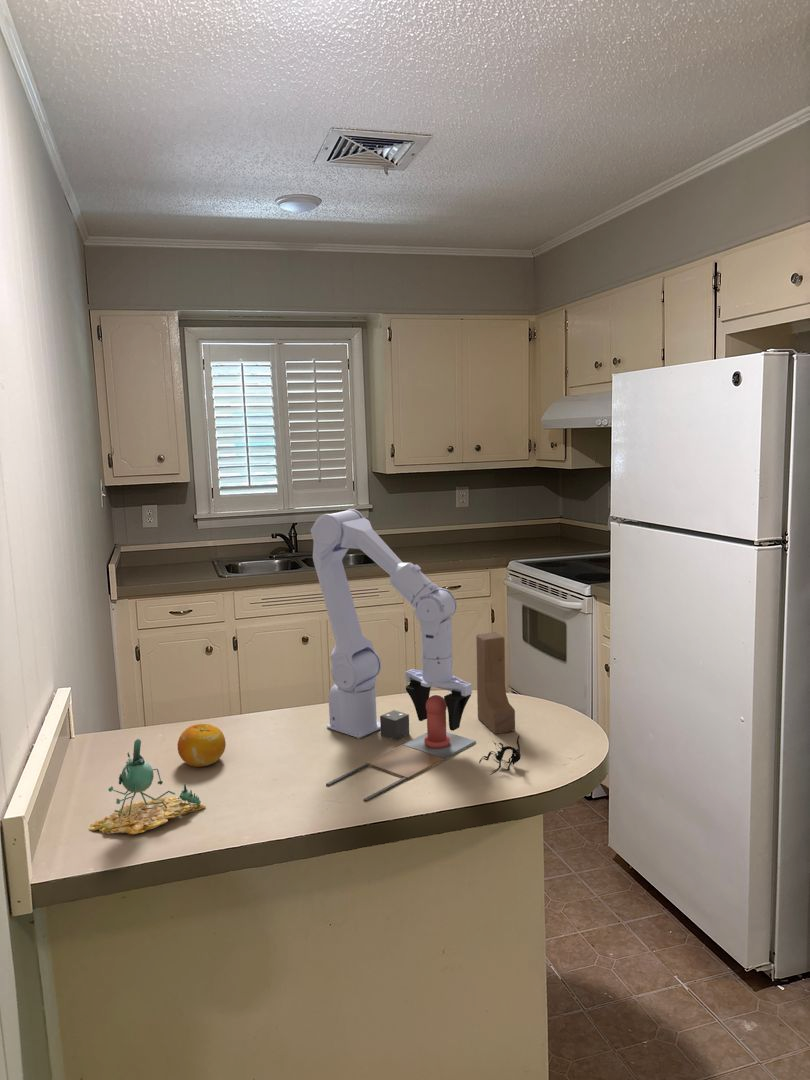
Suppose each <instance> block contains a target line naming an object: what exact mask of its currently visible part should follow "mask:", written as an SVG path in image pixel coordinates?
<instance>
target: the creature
mask: <svg viewBox="0 0 810 1080" xmlns="http://www.w3.org/2000/svg"><path fill="white" fill-rule="evenodd" d="M520 737H521V735H518V736H517V738H516V741H515V742H516V744H517V745H516V746H517V749H516V748H515V747H514V746H510V745H506V746H504V744H503V743H502V742H498V744H499V745H500V746H501V747H500V746H499V745H498V744H497V743H496V742H494V741H493V744H494V745H495V749H496V751H497V753H496V752H495V751H493V750H491V751H489V752H488V754H487V756H486V755H483V756H482V757H481V758H480V759H479V762H478V764H481V762H482V760H485V761H487V762H488V761H489V760H490V756H492V755H493V757H495V759H496V760H495V759H493V758H492V760H493V761H494V762H496V763H497V764H499V765H498V767H497V768H496V769H494V770H492V771H491V775H493V774H495V773H497V772H498V771H500V770H501V767H502V761H503V762H506V763H508V766H507V769H502V771H504V770H505V771H507V772H508V771H510V767H511V765H512V766H514V765H515V764H516V763H517V762H519V761H520V760H521V759H522V758H521V746H520V741H519V740H520ZM497 747H498V748H499V749H500V750H498V749H497ZM507 750H511V751H512V753H511V755H510V757H509V758H508V761H507V760H503V758H504V754H505V752H506V751H507Z"/></svg>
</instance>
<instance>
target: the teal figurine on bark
mask: <svg viewBox="0 0 810 1080" xmlns="http://www.w3.org/2000/svg"><path fill="white" fill-rule="evenodd" d="M141 744H142V741H141V740H140V739H139V738H136V739H135V741H134V743H133V754H132V758H131V755H130V752H127V757H128V759H127V761H126V762H125V764H126V765H125V766H124V767H123V769H122V770H121V773H120V774H119V775H118V776H119V777H118V783H117V784H118V785H122V786H123V787H124V788H125V789H126V792H122V791H120V790H117V789H114V786H112V785H111V786H110V787H108V788H107V789H108V791H109V793H110V792H117V793H119V794H121V795H124V798H122V799H120V798H116V801H115V803H116V804H117V805H120V804H121V802H122V805H121V808H120V809H117V810H116V809H115V810H114V812H113V813H112V814H111V813H110V815H109V816H104V818H102V819H101V820H100V819H99V820H96V821H95V822H93V823H92V824H90V827H89V828H88V830H89V831H91V832H92V831H100V832H102V833H103V834H104V833H106V834H108V835H112V834H116V833H117V834H118V833H123V834H124V833H126V834H129V835H136V834H139V833H140V834H141V833H142V834H143V833H144V832H146V831H149V830H153V829H155V828H158V827H159V826H160V825H164V824H166V823H168V820H169V819H175V818H176V817H178V816H185V815H187V814H188V813H196V812H197V811H200V810H202V809H204V808H206V807H207V806H206V805H205V804H202V803H201V802H202V801H201V800H200V797H199V796H198V794H197V795H196V793H195V792H194V793H193V791H192V790H191V789H190V790H188V789H187V784H186V783H184V784H183V789H181V793H180V794H179V796H175V795H176V793H175V792H173V791H170V790H167V791H166V792H164V793H163V794H161V795H159V796H158V797H155V798H154V797H152V796H150V795H149V794H146V793H144V792H145V791H146V790H147V789H149V788H150V787H151V786H152V784H153V780H154V771H156V772H157V776H158V779H159V780H158V781H157V785H163V780H162V778H161V775H160V771H159V769H158V768H156V767H155V768H153V767H152V765H151V764H150V763H149V762H148V761H146V760H145V759H144V757H143V756H142V755H141V746H142V745H141ZM128 792H129V793H128ZM137 793H140V795H141V797H142V799H143V800H142V801H141V800H140V801H135V802H133V800H134V798H135V797H136V795H137ZM131 794H133V795H132V796H129V795H131ZM166 794H172V795H174V797H164V796H165V795H166ZM128 796H129V797H128ZM145 797H147V798H149V799H148V800H146V798H145ZM129 799H130V803H127V804H126V805H125V802H126V800H129ZM176 799H177V800H176Z"/></svg>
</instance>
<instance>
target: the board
mask: <svg viewBox="0 0 810 1080" xmlns="http://www.w3.org/2000/svg"><path fill="white" fill-rule="evenodd" d="M446 735H447V736H449V738H450V745H449V746H448V747H446V748H442V749H432V748H428V747H426V746H425V742H424V738H425V737H426V736H427V732H425V733H423V734H422V735H420V736H417V737H416V738H414V739H411V740H409V741H406V742H405V743H403V744H401V745H398V746H397V747H395V748H393V749H391V750H389V751H386V752H385V753H382V754H381V755H379V756H377V757H374V758H373V759H372V758H371V759H370V760H369V761H366V763H364V764H363V765H361V766H359V767H357V768H354V769H352V770H350V771H349V772H347V773H345V774H343V775H341V776H338V777H336V778H334V779H333V780H331V781H329V782H326V783H325V785H326V787H329V786H332V785H334V784H335V783H338V782H340V781H343V779H344V780H345V779H346V778H348V777H350V776H352V775H354V774H356V773H358V772H360V771H362V770H364V769H366V768H368V767H372V768H374V769H377V770H380V771H381V772H382V771H383V772H385V773H388V774H391V775H394V776H397V777H398V778H400V779H398V780H396V781H395V782H392V783H390V784H389V785H387V786H384V787H383V788H381V789H380V790H378V791H376V792H374V793H372V794H371V795H368V796H367V797H365V798H363V802H366V803H367V802H369V801H370V800H372V799H374V798H376V797H378V796H379V795H382V794H383V793H385V792H386V791H389V790H390V789H392V788H394V787H396V786H398V785H400V784H401V783H404V782H405V781H407V780H411V779H412V778H415V777H416V776H418V775H420V774H421V773H423V772H425V771H427V770H429V769H430V768H432V767H435V766H436V765H438V764H439V763H441V762H443V761H445V760H447V759H449V758H451V757H453V756H454V755H456V754H458V753H459V752H461V751H463V750H465V749H467V748H469V747H471V746H472V745H475V744H476V743H477V740H474V739H471V738H467V737H466V736H465V737H464V736H462V735H458V734H454V733H452V732H448V731H446Z"/></svg>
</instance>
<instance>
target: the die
mask: <svg viewBox="0 0 810 1080" xmlns="http://www.w3.org/2000/svg"><path fill="white" fill-rule="evenodd" d="M379 720H380V721H379V722H380V726H381V729H380V736H381V737H385V738H388V739H391V740H393V741H397V740H399V739H402V738H404V737H406V736H408V735H410V715H409V714H408V713H404V712H403V711H402V712H401V711H399V710H395V709H393V710H391V711H389V712H386V713H384V714H382V715H380V716H379Z"/></svg>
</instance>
